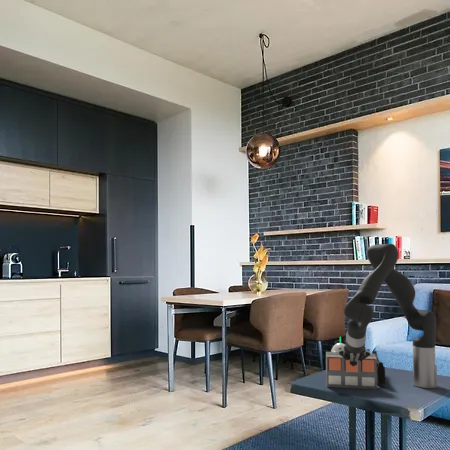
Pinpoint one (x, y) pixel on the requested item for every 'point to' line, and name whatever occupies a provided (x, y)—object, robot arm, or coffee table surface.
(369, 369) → the switch
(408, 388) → the coffee table surface
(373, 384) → the dark grey block
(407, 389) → the coffee table surface
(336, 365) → the switch
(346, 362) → the switch
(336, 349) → the smoothie
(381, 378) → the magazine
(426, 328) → the robot arm
